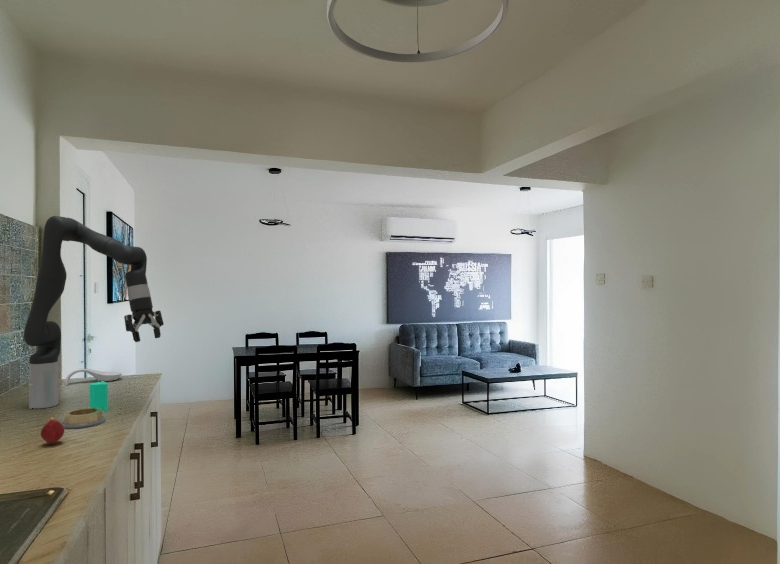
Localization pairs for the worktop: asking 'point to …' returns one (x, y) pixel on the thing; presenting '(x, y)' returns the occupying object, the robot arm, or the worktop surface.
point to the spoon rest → (96, 375)
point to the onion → (52, 431)
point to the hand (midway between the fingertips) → (147, 339)
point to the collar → (82, 416)
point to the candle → (99, 395)
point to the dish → (83, 424)
